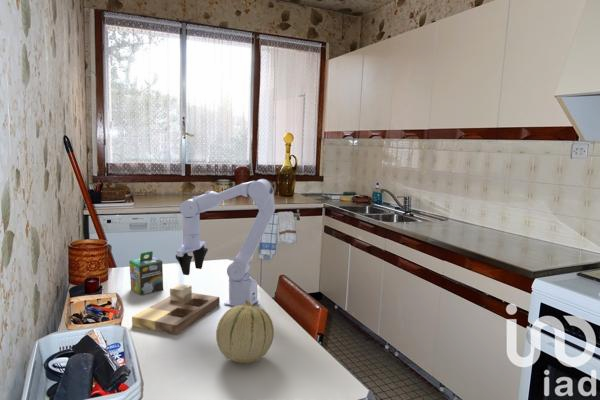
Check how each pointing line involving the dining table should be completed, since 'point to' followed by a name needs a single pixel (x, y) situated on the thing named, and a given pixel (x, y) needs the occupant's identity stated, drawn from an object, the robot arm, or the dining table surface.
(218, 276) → the dining table surface
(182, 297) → the maple block
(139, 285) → the chalk box
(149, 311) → the board
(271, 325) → the cantaloupe
